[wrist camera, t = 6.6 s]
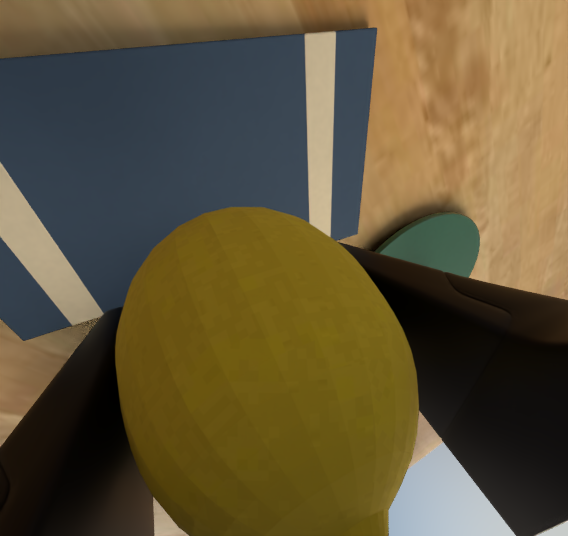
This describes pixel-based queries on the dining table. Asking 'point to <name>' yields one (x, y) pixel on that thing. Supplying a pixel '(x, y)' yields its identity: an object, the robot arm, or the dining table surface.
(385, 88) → the dining table surface
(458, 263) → the pot lid
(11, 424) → the dining table surface
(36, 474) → the robot arm
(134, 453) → the lemon
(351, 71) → the towel
